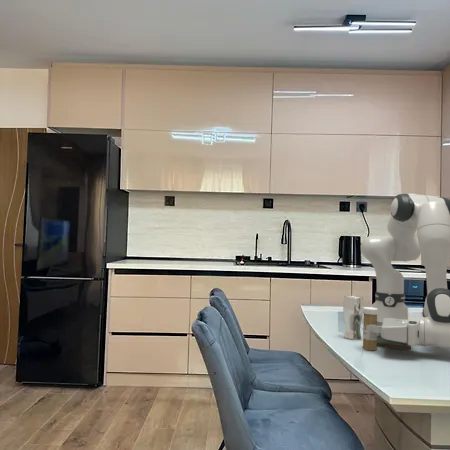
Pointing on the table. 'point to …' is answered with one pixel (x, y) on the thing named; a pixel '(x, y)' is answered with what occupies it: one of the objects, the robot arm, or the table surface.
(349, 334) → the beer glass
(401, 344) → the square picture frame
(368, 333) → the sprinkles bottle
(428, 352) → the table surface
